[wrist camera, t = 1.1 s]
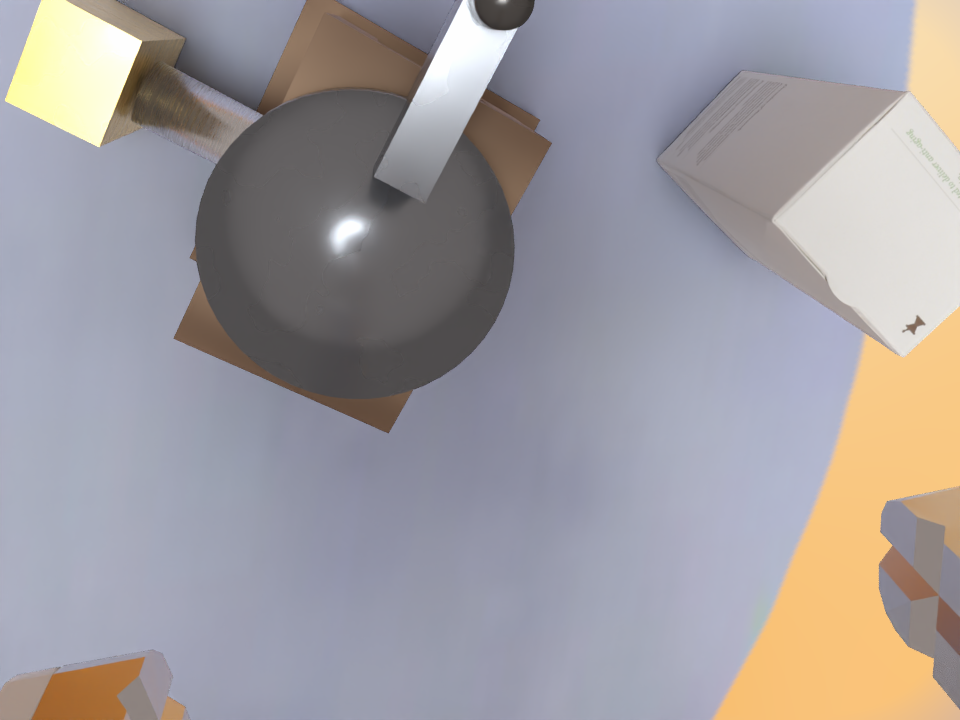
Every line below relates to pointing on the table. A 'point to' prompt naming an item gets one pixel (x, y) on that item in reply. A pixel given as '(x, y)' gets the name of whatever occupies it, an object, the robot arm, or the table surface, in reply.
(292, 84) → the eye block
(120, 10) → the gold cube on rod
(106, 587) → the table surface
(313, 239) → the handwheel
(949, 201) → the skincare box
